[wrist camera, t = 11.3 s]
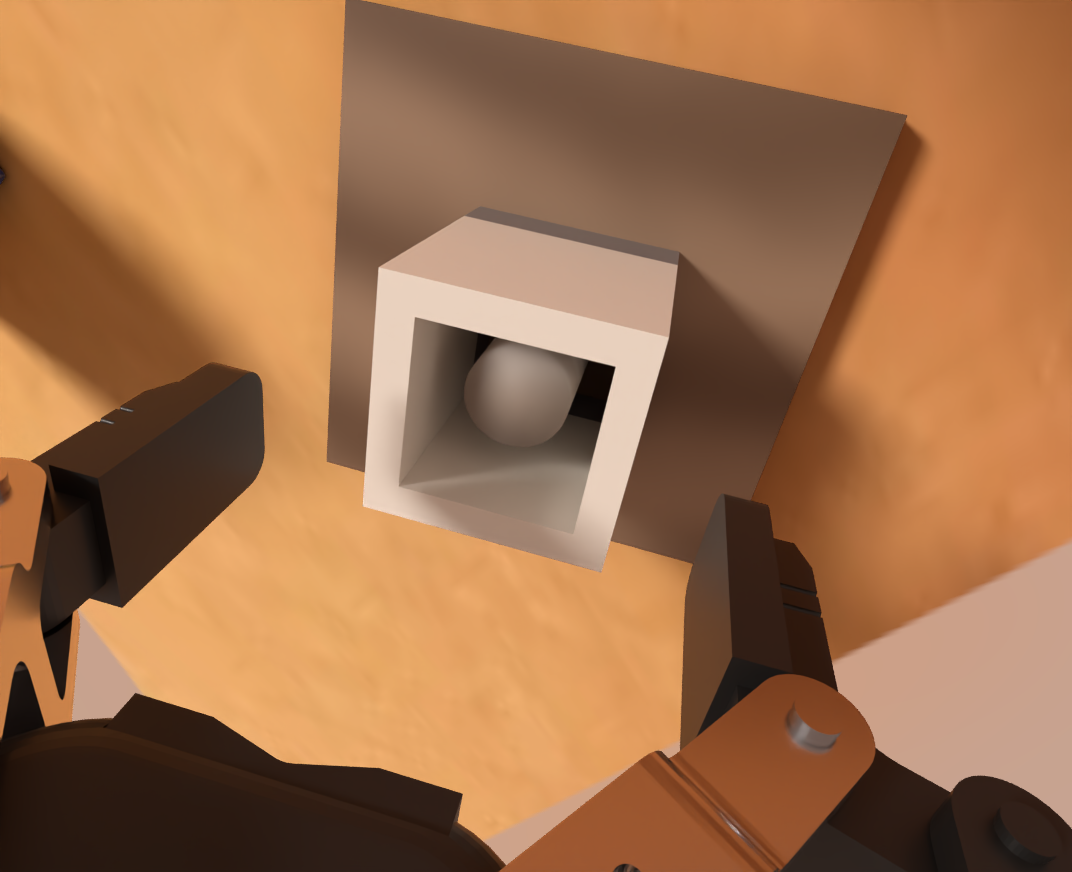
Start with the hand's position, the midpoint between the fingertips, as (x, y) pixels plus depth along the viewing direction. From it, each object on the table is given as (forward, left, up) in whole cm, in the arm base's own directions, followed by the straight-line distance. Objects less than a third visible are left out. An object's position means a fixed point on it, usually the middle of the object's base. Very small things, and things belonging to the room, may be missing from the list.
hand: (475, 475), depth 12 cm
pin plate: (0, 0, -11) cm, 11 cm away
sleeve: (0, 0, -10) cm, 10 cm away
